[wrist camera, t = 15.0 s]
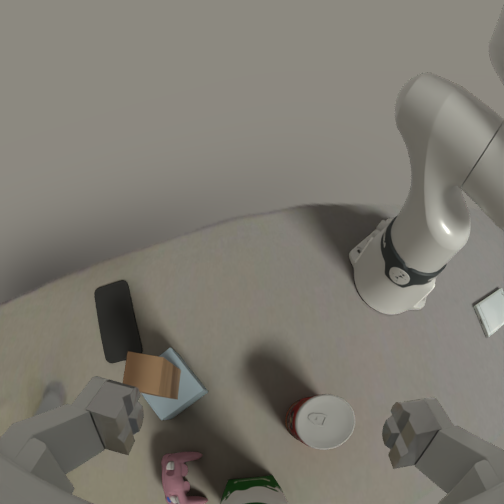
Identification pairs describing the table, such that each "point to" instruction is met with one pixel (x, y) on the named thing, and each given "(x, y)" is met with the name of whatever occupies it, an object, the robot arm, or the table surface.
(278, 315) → the table surface
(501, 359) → the table surface
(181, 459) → the video game controller
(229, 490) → the milk carton
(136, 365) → the walnut post
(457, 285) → the table surface
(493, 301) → the hard drive
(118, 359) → the phone
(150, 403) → the base block
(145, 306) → the table surface
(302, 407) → the canned food
